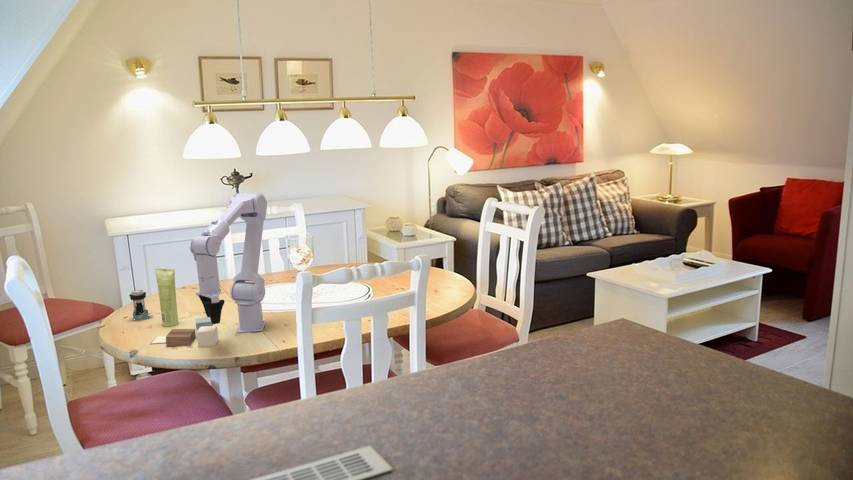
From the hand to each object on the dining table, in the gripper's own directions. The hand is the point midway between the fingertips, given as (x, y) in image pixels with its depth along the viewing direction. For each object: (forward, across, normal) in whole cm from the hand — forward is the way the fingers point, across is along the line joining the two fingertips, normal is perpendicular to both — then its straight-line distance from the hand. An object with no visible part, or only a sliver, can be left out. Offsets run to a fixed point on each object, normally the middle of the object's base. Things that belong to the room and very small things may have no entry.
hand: (213, 319), depth 198 cm
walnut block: (+9, -12, -8) cm, 17 cm away
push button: (+10, -45, -16) cm, 49 cm away
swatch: (+9, -17, -13) cm, 23 cm away
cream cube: (+9, -6, -1) cm, 11 cm away
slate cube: (+9, -15, 0) cm, 18 cm away
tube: (+10, -32, -8) cm, 34 cm away
